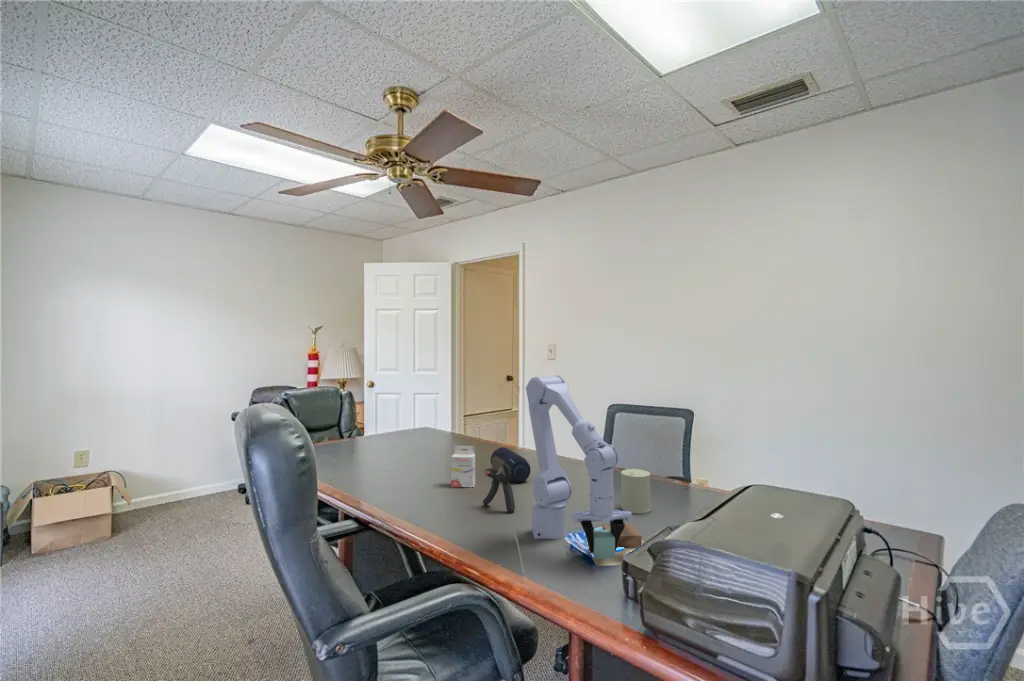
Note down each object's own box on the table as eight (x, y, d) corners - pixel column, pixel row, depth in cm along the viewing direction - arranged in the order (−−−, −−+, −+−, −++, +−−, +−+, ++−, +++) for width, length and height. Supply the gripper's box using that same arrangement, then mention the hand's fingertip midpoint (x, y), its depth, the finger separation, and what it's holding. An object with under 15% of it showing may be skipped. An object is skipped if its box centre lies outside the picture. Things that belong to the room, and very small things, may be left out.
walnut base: (610, 548, 122) (610, 536, 122) (602, 536, 130) (602, 524, 130) (641, 547, 122) (641, 535, 122) (631, 534, 130) (631, 523, 130)
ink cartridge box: (450, 488, 178) (450, 448, 178) (453, 484, 182) (453, 445, 183) (473, 488, 177) (473, 448, 177) (475, 484, 182) (475, 445, 182)
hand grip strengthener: (486, 504, 159) (486, 459, 160) (515, 512, 151) (515, 464, 152) (481, 505, 158) (481, 460, 158) (511, 514, 150) (510, 466, 150)
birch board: (596, 570, 112) (596, 565, 112) (579, 539, 130) (579, 535, 130) (662, 567, 113) (662, 563, 113) (637, 536, 131) (637, 533, 131)
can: (615, 508, 154) (615, 471, 154) (631, 502, 160) (630, 466, 160) (641, 515, 147) (640, 476, 147) (656, 508, 154) (655, 471, 154)
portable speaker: (488, 470, 203) (487, 446, 203) (510, 467, 206) (509, 444, 206) (508, 486, 179) (508, 459, 179) (533, 483, 183) (533, 457, 183)
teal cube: (594, 559, 116) (594, 538, 116) (589, 550, 121) (589, 530, 121) (615, 558, 116) (614, 537, 116) (609, 549, 121) (609, 529, 121)
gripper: (576, 501, 114) (576, 558, 114) (635, 499, 115) (636, 556, 115) (570, 492, 121) (570, 546, 121) (626, 490, 122) (627, 544, 122)
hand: (602, 550), depth 118 cm, fingers closed on teal cube, 5 cm apart
